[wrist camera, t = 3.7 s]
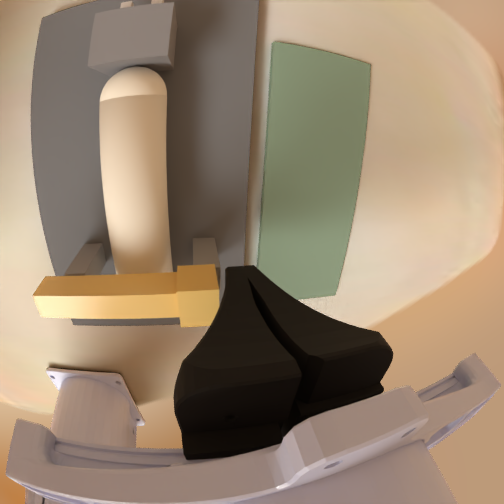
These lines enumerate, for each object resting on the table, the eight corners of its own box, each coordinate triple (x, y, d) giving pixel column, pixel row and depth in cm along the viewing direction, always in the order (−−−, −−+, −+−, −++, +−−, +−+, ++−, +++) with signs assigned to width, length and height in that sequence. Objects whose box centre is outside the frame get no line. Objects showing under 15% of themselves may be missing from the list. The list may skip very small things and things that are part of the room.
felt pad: (333, 292, 20) (335, 295, 19) (254, 300, 18) (255, 303, 18) (367, 65, 12) (370, 64, 12) (271, 43, 11) (273, 41, 11)
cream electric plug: (178, 286, 16) (177, 322, 13) (127, 288, 15) (118, 324, 12) (179, 10, 9) (177, -17, 6) (117, 17, 8) (99, -5, 5)
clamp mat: (239, 312, 19) (250, 355, 15) (76, 317, 16) (61, 358, 13) (256, -3, 10) (277, -34, 6) (48, 21, 7) (15, 4, 4)
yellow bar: (215, 297, 13) (219, 325, 11) (54, 301, 11) (41, 326, 9) (214, 264, 12) (219, 289, 10) (43, 271, 10) (27, 294, 8)
